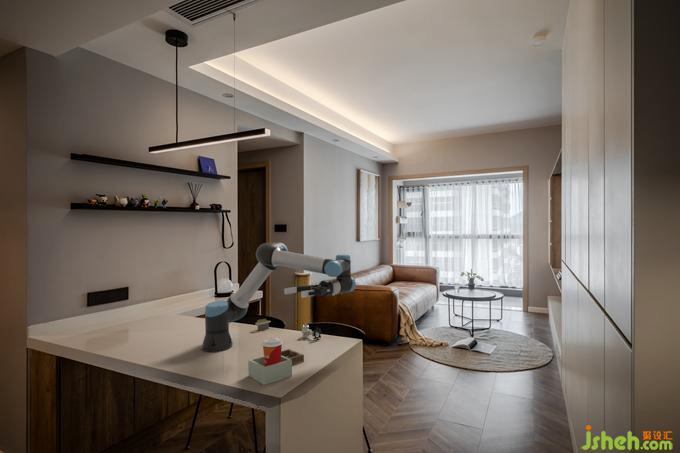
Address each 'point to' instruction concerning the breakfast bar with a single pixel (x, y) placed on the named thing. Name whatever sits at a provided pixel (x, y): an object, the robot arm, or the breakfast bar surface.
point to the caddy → (269, 370)
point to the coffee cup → (272, 351)
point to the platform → (263, 324)
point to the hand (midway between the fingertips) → (292, 292)
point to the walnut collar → (293, 356)
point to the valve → (310, 332)
